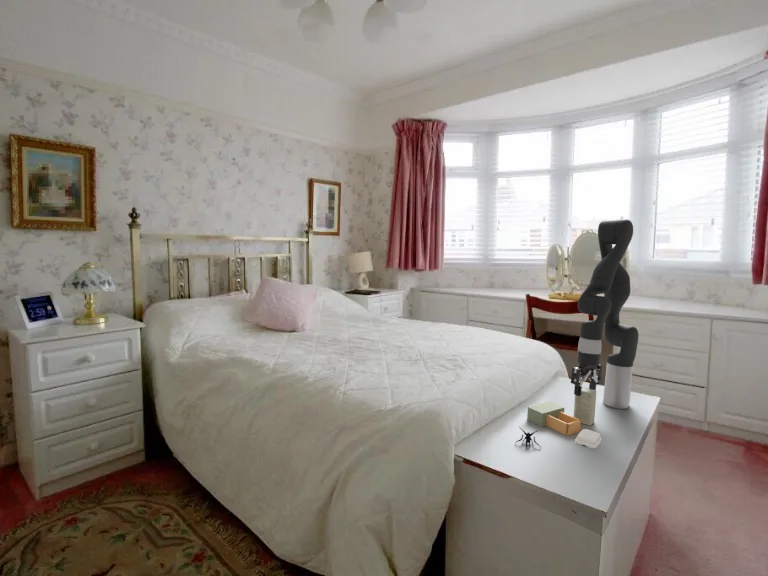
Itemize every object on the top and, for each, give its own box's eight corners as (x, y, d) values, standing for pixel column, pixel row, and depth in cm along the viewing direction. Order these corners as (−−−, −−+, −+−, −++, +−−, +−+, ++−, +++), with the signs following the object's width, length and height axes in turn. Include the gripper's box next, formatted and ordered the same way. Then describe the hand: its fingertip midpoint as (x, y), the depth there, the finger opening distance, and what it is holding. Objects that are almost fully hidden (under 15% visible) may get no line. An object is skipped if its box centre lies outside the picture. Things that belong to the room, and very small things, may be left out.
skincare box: (594, 422, 155) (597, 390, 153) (590, 426, 152) (593, 393, 150) (576, 417, 159) (579, 385, 158) (572, 420, 156) (575, 388, 154)
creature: (540, 457, 131) (540, 440, 138) (542, 442, 129) (541, 426, 137) (514, 452, 134) (515, 436, 141) (515, 438, 132) (516, 422, 139)
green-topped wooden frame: (548, 413, 161) (549, 401, 161) (584, 429, 148) (585, 416, 148) (527, 420, 155) (528, 407, 154) (562, 437, 142) (563, 423, 142)
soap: (595, 450, 135) (596, 442, 134) (573, 443, 139) (573, 434, 139) (602, 440, 142) (603, 432, 141) (581, 434, 146) (581, 426, 146)
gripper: (591, 346, 159) (587, 387, 161) (567, 349, 152) (563, 393, 154) (611, 351, 153) (606, 394, 155) (586, 354, 146) (581, 400, 147)
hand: (584, 393), depth 154 cm, fingers open, 8 cm apart
